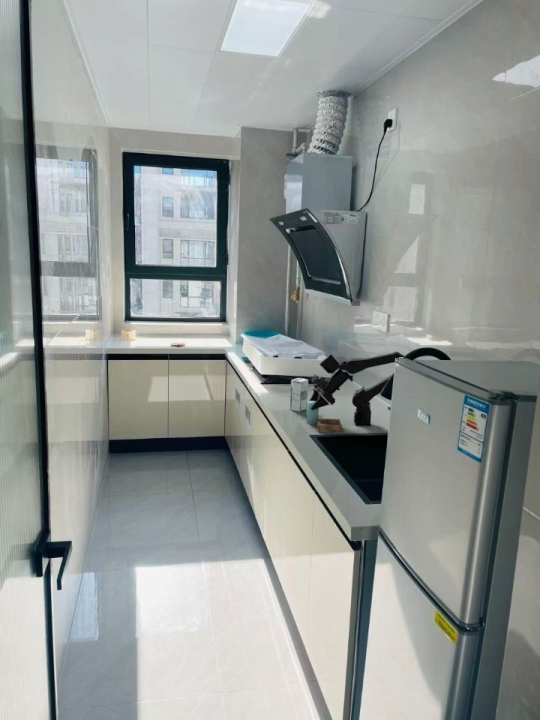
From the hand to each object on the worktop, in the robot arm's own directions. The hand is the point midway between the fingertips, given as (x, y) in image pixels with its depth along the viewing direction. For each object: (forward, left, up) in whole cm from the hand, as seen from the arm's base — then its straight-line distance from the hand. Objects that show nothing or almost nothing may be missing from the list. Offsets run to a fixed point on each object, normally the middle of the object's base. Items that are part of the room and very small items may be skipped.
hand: (309, 407), depth 236 cm
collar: (-8, +8, -7) cm, 13 cm away
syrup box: (+4, -21, -7) cm, 22 cm away
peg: (-1, 0, -7) cm, 7 cm away
